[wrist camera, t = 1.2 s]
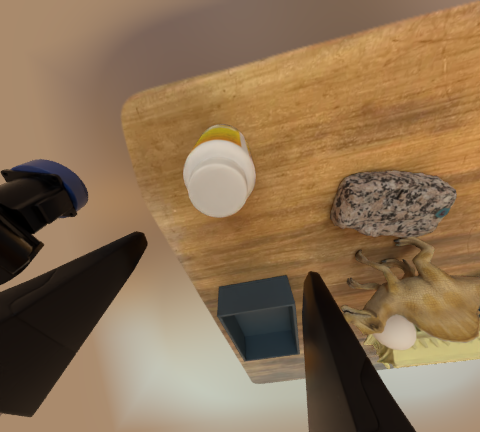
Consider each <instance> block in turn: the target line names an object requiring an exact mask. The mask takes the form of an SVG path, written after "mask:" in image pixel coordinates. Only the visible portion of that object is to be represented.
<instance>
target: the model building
mask: <svg viewBox="0 0 480 432" xmlns="http://www.w3.org/2000/svg"><path fill="white" fill-rule="evenodd" d="M413 325H414V326H415V330H416V341H415V343H414V345H413V346H411V347H410V348H409V349H406V350H394V349H391V348H388V347H386V346H385V345H383V344H381V343H380V342H379V341H378V340H377V339H376V338H375V337H374V336H373V335H372V334H370V335H368V337H367V339H366V340H365V342H364V345H374V344H376V346H377V348H378V349H379V350H377V348H376V346H375V345H374V347H375V349H376V350H377V353H376V354H377V355H379V360H378V361H377V362H379V363H383V364H384V365H385V366H386V368H387V369H390V366H389V363H390V364H392V365H393V367H394V368H399V367H409V366H418V365H428V364H437V363H446V362H456V361H466V360H474V359H480V331H479V337H477V338H476V339H474V340H472V341H470V342H467V343H460V342H450V341H442V340H439V339H438V338H434V337H432V336H430V335H428V334H427V333H426V332H424V331H422V330H420V329H419V328H417V327H416V325H415V324H413ZM377 344H378V345H379V347H380V348H379V347H378V345H377ZM380 344H381V345H380ZM381 346H382V347H381Z"/></svg>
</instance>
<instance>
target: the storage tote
mask: <svg viewBox="0 0 480 432" xmlns="http://www.w3.org/2000/svg"><path fill="white" fill-rule="evenodd" d="M217 317H218V318H219V320H220V322H221V323H222V325H223V327H224V328H225V330H226V332H227V333H228V335H229V337H230V338H231V340H232V342H233V343H234V345H235V347H236V348H237V350H238V352H239V353H240V355H241V357H242V358H243V360H244V361H252V360H260V359H267V358H275V357H282V356H290V355H298V354H300V350H299V339H298V328H297V317H296V306H295V301H294V298H293V294H292V291H291V288H290V285H289V281H288V278H287V275H285V276H279V277H273V278H268V279H262V280H256V281H250V282H245V283H239V284H233V285H227V286H222V287H219V296H218V312H217Z"/></svg>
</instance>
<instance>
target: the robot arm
mask: <svg viewBox="0 0 480 432" xmlns="http://www.w3.org/2000/svg"><path fill="white" fill-rule="evenodd" d="M1 174H2V176H3V177H4V178H5V180H6V182H7V183H4V184H2V185H0V285H1V284H4V283H6V282H8V281H9V280H11V279H13V278H14V277H16V276H17V275H18V274H20V273H21V272H22V271H23V270H24V269H25V268H26V267H27V266H28V265H29V264H30V262H31V261H32V260H33V258H34V257H35V256H36V255H37V254H38V252H39V251H40V250H41V249H42V247H43V246H44V244H43V243H42V242H41V241H39V240H38V239H36V238H35V237H34V236H33V235H32V234H35V233H36V232H37V231H39V230H40V229H42V228H43V227H44V226H46V225H47V224H50V223H52V222H53V221H55V220H56V219H57V218H59V217H60V216H65V217H75V216H76V215H77V212H76V210H75V208H74V205H73V203H72V201H71V199H70V197H69V194H68V192H67V190H66V188H65V186H64V184H63V181H62V179H61V177H60V176H59V175H57V174H50V173H40V172H29V171H19V170H8V169H5V170H2V171H1ZM55 178H56V179H55ZM146 247H147V240H146V237H145V235H144V233H142V232H137V231H136V232H133V233H131V234H129V235H127V236H125V237H122V238H120V239H118V240H116V241H114V242H112V243H110V244H108V245H105V246H103V247H101V248H99V249H97V250H94V251H92V252H90V253H88V254H86V255H84V256H81V257H79V258H77V259H75V260H73V261H71V262H69V263H66V264H64V265H62V266H60V267H58V268H56V269H53V270H51V271H49V272H47V273H44V274H42V275H40V276H38V277H36V278H33V279H31V280H29V281H26V282H24V283H21V284H19V285H17V286H14V287H12V288H9V289H7V290H5V291H2V292H0V415H1V414H2V413H4V414H11V415H19V416H26V417H32V416H33V415H34V413H35V412H36V411H37V409H38V408H39V407H40V405H41V404H42V402H43V401H44V399H45V398H46V397H47V395H48V394H49V392H50V391H51V389H52V388H53V386H54V385H55V383H56V382H57V380H58V379H59V378H60V376H61V375H62V373H63V372H64V370H65V369H66V368H67V366H68V365H69V363H70V362H71V360H72V359H73V357H74V356H75V355H76V353H77V352H78V350H79V349H80V347H81V346H82V344H83V343H84V341H85V340H86V339H87V337H88V336H89V334H90V333H91V331H92V330H93V328H94V327H95V326H96V324H97V323H98V321H99V320H100V318H101V317H102V315H103V314H104V312H105V311H106V310H107V308H108V307H109V305H110V304H111V302H112V301H113V300H114V298H115V297H116V295H117V294H118V292H119V291H120V290H121V288H122V287H123V285H124V284H125V282H126V281H127V279H128V278H129V276H130V275H131V273H132V272H133V271H134V269H135V267H136V265H137V264H138V262H139V260H140V258H141V256H142V255H143V253H144V251H145V249H146ZM302 324H303V341H304V357H305V374H306V390H307V408H308V424H309V432H416V431H415V429H414V428H413V426H412V425H411V423H410V422H409V421H408V419H407V418H406V416H405V415H404V413H403V412H402V410H401V409H400V407H399V406H398V404H397V403H396V401H395V400H394V399H393V397H392V395H391V394H390V392H389V391H388V389H387V388H386V386H385V384H384V383H383V381H382V379H381V378H380V376H379V375H378V373H377V371H376V370H375V368H374V366H373V365H372V363H371V361H370V359H369V358H368V357H366V356H367V355H366V353H365V351H364V349H363V348H362V346H361V344H360V343H359V341H358V339H357V338H356V336H355V334H354V332H353V331H352V329H351V327H350V326H349V324H348V322H347V321H346V319H345V317H344V315H343V314H342V312H341V310H340V309H339V307H338V305H337V304H336V302H335V300H334V298H333V297H332V295H331V293H330V292H329V290H328V288H327V287H326V285H325V283H324V281H323V280H322V278H321V276H320V275H319V274H318V273H316V272H312V271H310V272H309V273H308V275H307V277H306V279H305V281H304V290H303V308H302Z"/></svg>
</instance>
